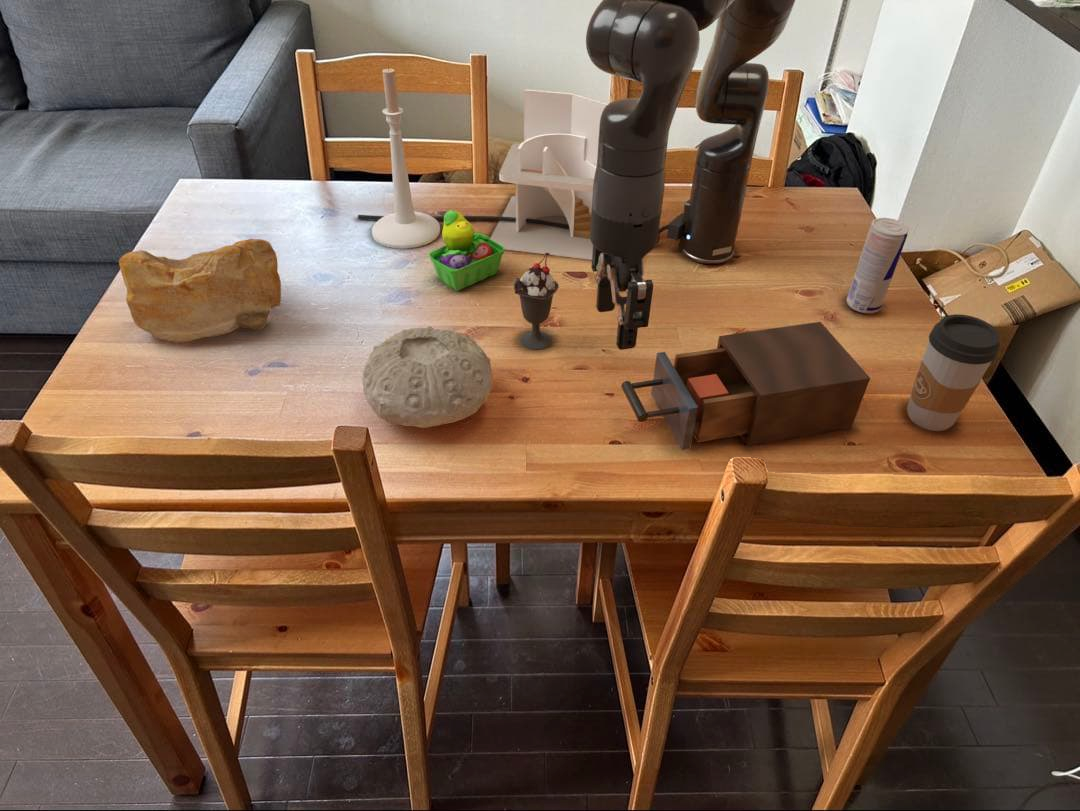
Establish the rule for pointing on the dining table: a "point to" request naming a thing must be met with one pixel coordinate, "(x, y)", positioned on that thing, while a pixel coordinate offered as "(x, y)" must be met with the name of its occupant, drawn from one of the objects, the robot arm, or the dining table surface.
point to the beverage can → (877, 264)
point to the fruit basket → (464, 253)
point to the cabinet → (797, 381)
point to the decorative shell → (427, 377)
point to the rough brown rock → (202, 290)
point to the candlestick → (401, 187)
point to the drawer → (678, 404)
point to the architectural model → (552, 176)
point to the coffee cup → (951, 370)
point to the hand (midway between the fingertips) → (615, 328)
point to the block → (705, 389)
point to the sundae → (536, 303)
